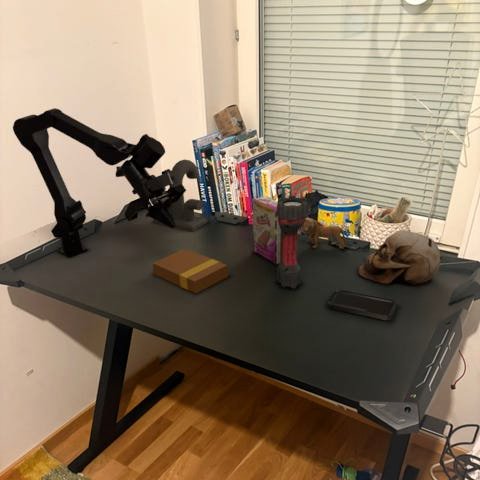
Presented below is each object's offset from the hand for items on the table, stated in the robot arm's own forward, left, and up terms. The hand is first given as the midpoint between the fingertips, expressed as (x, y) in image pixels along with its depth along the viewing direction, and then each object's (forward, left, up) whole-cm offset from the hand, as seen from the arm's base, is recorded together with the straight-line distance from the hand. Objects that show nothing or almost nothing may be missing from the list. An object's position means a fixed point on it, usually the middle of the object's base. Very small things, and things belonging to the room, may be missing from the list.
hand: (174, 227), depth 130 cm
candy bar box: (+15, +22, -13) cm, 30 cm away
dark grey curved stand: (-27, +27, -13) cm, 41 cm away
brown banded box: (-3, -1, -11) cm, 11 cm away
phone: (+50, +14, -13) cm, 53 cm away
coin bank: (+49, +33, -13) cm, 61 cm away
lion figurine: (+23, +37, -13) cm, 46 cm away
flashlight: (+30, +12, -13) cm, 35 cm away
